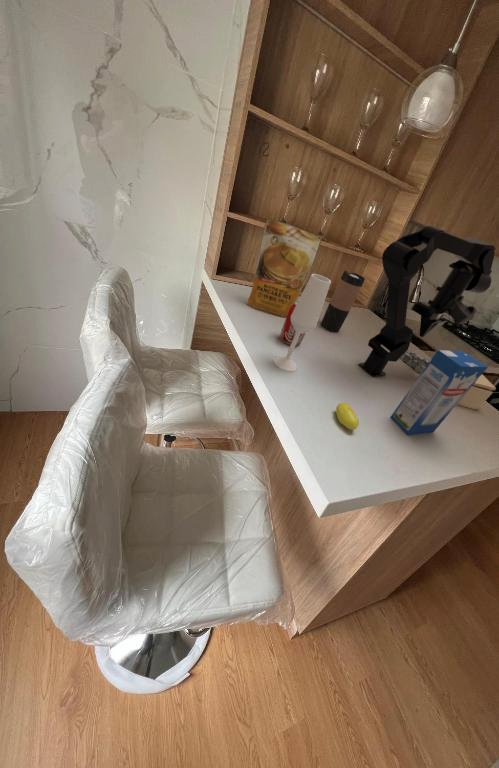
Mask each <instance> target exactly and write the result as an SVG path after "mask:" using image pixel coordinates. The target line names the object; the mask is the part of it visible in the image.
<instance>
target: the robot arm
mask: <svg viewBox="0 0 499 768" xmlns="http://www.w3.org/2000/svg"><path fill="white" fill-rule="evenodd" d="M421 245H424V246H426V247H425V248H423V249H421V250H419V249H416V247H419V246H421ZM436 250H441V251H444V252H447V253H450V254H453V255H454V257H456V258H457V259H458V260H457V261H454V262H452V263H450V264H449V265H448V267H449V268H451V270H450V272H449V273H448V275H447V277H446V278H445V280H444V281H443V283H442V284H441V286H437V287H436V289H435V290H436V291H437V292H436V294H435V296H434V297H433V299H429V300H428V302H426V301H415V302H414V303H413V305H412V307H411V308H410V310H411V311H413V312H414V313H416V314H418V315H420V326H419V333H418V334H419V337H421V338H424V337H426V336H427V335H428V334H429V333H430V332H431V331H432V330H433V329H435V328H436V327H437V326H438V325H439V324H442V323H448V322H449V320H448V319H447V318H446V317H447V315H448V316H450V317H451V318H452V320H453V322H454V323H455V324H456V325H464V324H466V323H467V322H469V321H472V320H473V319H474V317H475V314H476V312H477V308H475V307H476V306H472V305H469V306H467V305H466V304H464V303H463V301H464V298H465V296H464V295H463V293H465V291H466V292H470V293H473V294H474V293H475V294H481V293H484V292H486V291H487V290H489V288H490V287H491V285H492V276H491V274H492V271H493V270H492V267H493V263H494V259H495V250H496V246H495V245H493V244H492V243H489V242H486V241H483V240H480V239H478V238H475V237H464V238H463V237H462V238H460V237H458V236H455V235H453V234H451V233H447V232H446V231H445V230H443V229H440V228H438V227H436V226H434V225H427V226H425V227H423V228H421V229H420V230H418V231H416V232H413V233H410V234H406V235H403V236H401V237H400V238H398V239H396V240H395V241H393V242H391V243H390V244H389V245H388V246H386V248H385V249H384V250H383V252H382V255H381V256H382V257H381V258H382V259H381V260H382V261H381V262H382V268H383V272H384V273H385V275H386V278H387V280H388V285H387V288H388V289H387V302H386V320H385V321H386V322H385V325H384V326H383V327H382V328H381V329H380V330H379V333H378V334H376V335H375V336H373V337H372V338H370V339H369V340H368V343H367V346H368V347H369V348H371V349H372V350H371V351H370V353H369V354H368V356H367V358H366V360H365V362H360V363H358V366H359V367H360V368H362V370H364V371H365V372H367V373H368V374H369V375H370V376H371V377H374V378H376V377H382V376H386V375H387V373H386V372H385V371H384V369H385V368H386V367H387V365H388V363H389V362H397V361H399V359H400V358H401V356H402V355H403V354H404V353H405V352H406V351H407V350H409V348H410V345H411V342H413V340H412V339H413V338H412V337H413V334H414V331H413V329H411V328H410V326H407V325H406V320H407V314H408V313H407V311H408V304H409V303H408V302H409V296H410V294H409V293H410V285H411V281H412V279H413V278H414V277H415V276H416V275H417V273H418V272H419V268H420V267H422V266H423V265H424V264H426V263H428V261H430V258H431V257H432V256H433V253H434V252H435V251H436Z"/></svg>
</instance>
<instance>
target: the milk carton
mask: <svg viewBox="0 0 499 768" xmlns="http://www.w3.org/2000/svg"><path fill="white" fill-rule="evenodd" d="M429 361H430V362H429V363H428V365H427V366H426V368H425V369H424V370H423V372H422V373H420V375H419V376H418V378H417V379H416V380H415V381H414V383H413V385H412V386H411V387H410V389H409V390H408V391H407V393H406V394H405V395H404V397H403V399H402V400H401V401H400V403H399V404H398V406H397V407H396V408H395V410H394V412H392V414H391V416H390V419H391V420H392V421H393V422H394V423H395V424H396V425H397V426H398V427H399V428H400V429H401V430H402V431H403V432H404V433H405V434H406V435H407V436H413V435H420V434H421V435H422V434H431V433H434V432H435V431H436V430H437V429H438V427H439V426H440V425H441V424H442V423H443V421H445V419H446V418H447V416H448V415H449V414H450V413H451V412H452V411H453V409H454V408H456V406H457V404H458V402H459V401H460V400H461V399H462V398H463V396H464V395H465V394H466V393H467V392H468V390H469V389H470V388H471V387H472V386H473V384H474V383H475V382H476V381H477V380H478V378H479V377H480V376H481V375H484V373H485V371H486V370H487V369H489V368H488V367H489V366H487V365H485V364H483V363H482V362H480V361H479V360H478V359H476V358H474V356H472V355H470V354H468V353H467V352H465V351H458V350H445V349H437V351H436V352H435V354H434V355H433V356H432V358H431V359H430V360H429Z"/></svg>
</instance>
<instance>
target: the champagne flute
mask: <svg viewBox="0 0 499 768" xmlns="http://www.w3.org/2000/svg"><path fill="white" fill-rule="evenodd" d="M331 283H332V281H331V280H330V279H329V278H328V277H326V276H324V275H321V274H316V273H312V274H311V275H310V277H309V279H308V281H307V284H306V285H305V287H304V288H303V291H302V292H301V295H300V296H299V299H298V300H297V301H298V303H297V305H296V307H295V309H294V311H293V313H292V315H291V323H292V326H293V328H294V330H295V331H296V334H295V336H294V339H293V341H292V344H291V345H289V348H288V351H287V354H286V356H277V357H275V358H274V359H273V363H274V364H275V366H276V367H278V368H279V369H281V370H284V371H287V372H294V371H296V370H297V369H298V366H297V364H296V363H295V362H294V361H293V360H292V359H291V357H292V355H293V352H294V350H295V349H296V348H295V347H296V346H297V345H296V343H297V341H298V339H299V336H300V334H302V333H305V334H306V333H308V332H311V331H312V330H314V329H315V328H316V327H317V324H318V322H319V318H320V316H321V313H322V309H323V307H324V304H325V301H326V297H327V295H328V292H329V289H330V286H331Z"/></svg>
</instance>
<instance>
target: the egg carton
mask: <svg viewBox="0 0 499 768" xmlns="http://www.w3.org/2000/svg"><path fill="white" fill-rule="evenodd" d="M399 359H400V360H401V361H404V362H405V363H406V365H407V366H409V367H412V368H413V369H414V371H415V372H417V373H419V374H421V373H422V372H423V370H424V369H425V368H426V366H427V365H428V363H429V362H430V360H427V358H423V357H422V355H421V356H420V355H418V354H416V353H415V352H414V350H411V349H408V350H407V351H406V352H405V353H404V354H403V355H402V356H401V357H400V358H399Z"/></svg>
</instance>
